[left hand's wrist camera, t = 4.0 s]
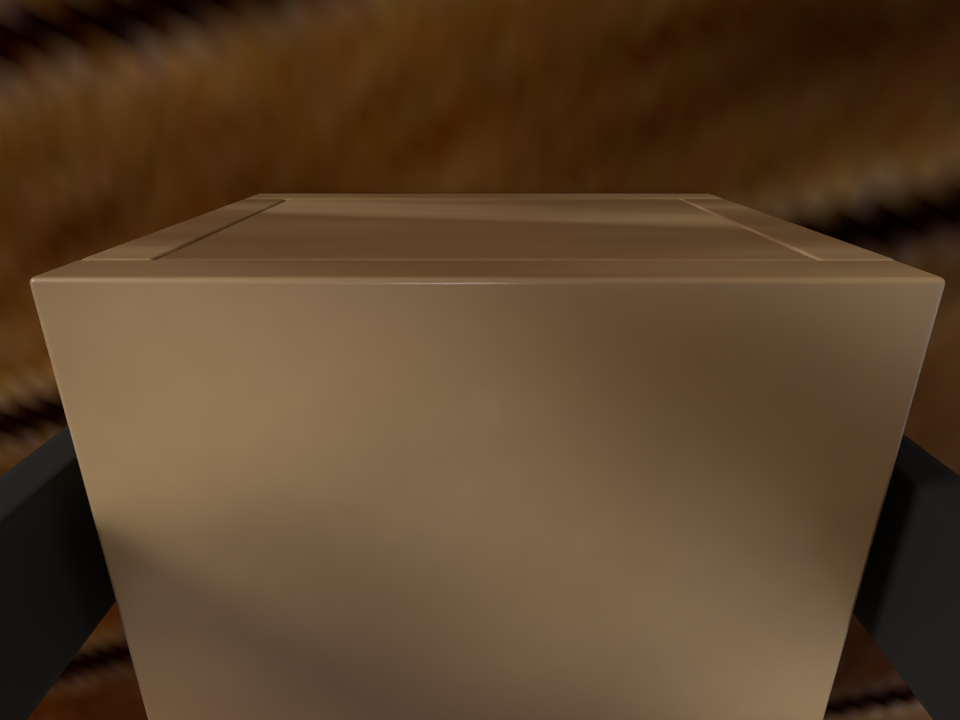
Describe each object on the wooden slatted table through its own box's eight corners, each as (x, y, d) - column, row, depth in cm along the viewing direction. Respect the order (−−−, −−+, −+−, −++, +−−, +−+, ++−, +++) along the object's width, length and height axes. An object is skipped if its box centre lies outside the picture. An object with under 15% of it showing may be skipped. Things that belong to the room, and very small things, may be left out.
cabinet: (643, 698, 21) (736, 1033, 13) (322, 698, 21) (231, 1032, 13) (710, 193, 15) (950, 278, 7) (257, 193, 15) (24, 277, 7)
